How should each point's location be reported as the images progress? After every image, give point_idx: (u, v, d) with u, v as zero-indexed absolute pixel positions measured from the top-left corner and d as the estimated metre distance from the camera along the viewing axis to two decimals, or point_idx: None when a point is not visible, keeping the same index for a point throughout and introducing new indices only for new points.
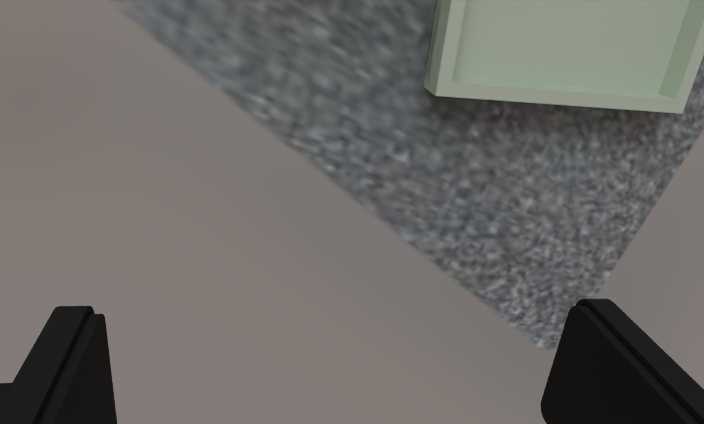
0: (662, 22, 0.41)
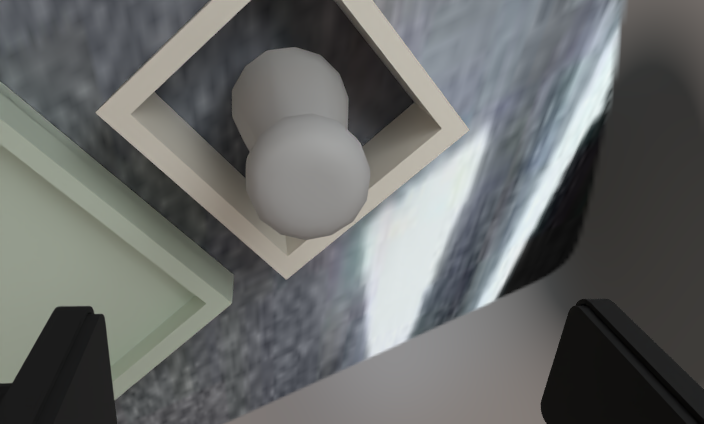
0: None
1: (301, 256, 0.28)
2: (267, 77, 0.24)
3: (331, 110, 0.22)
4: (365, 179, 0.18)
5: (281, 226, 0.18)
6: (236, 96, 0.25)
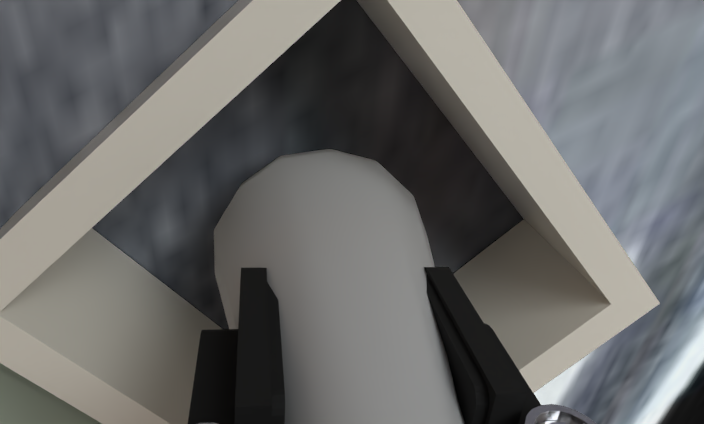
0: None
1: None
2: (282, 234, 0.11)
3: (431, 336, 0.10)
4: None
5: None
6: (220, 253, 0.13)
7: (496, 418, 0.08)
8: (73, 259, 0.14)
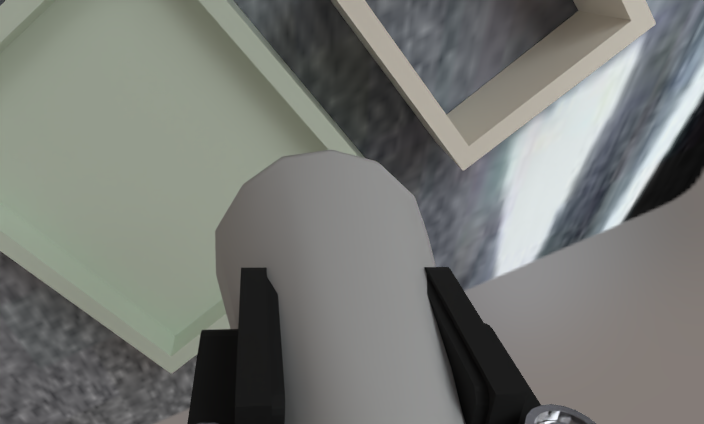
0: None
1: (481, 147, 0.29)
2: (284, 234, 0.11)
3: (433, 338, 0.10)
4: None
5: None
6: (222, 254, 0.13)
7: (496, 418, 0.08)
8: None
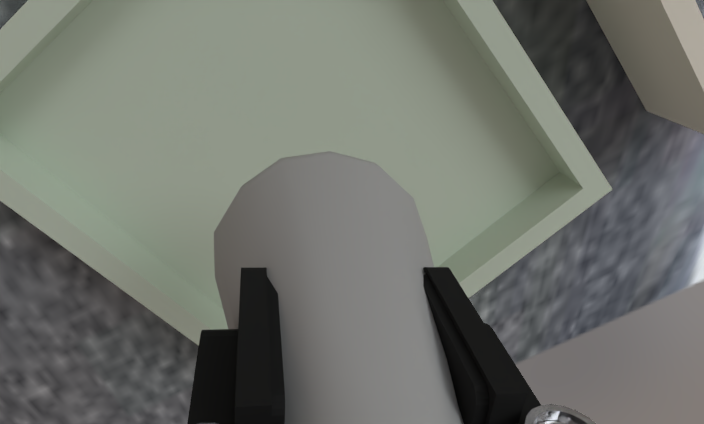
0: None
1: None
2: (282, 237, 0.11)
3: (431, 340, 0.10)
4: None
5: None
6: (220, 255, 0.13)
7: (496, 418, 0.08)
8: None
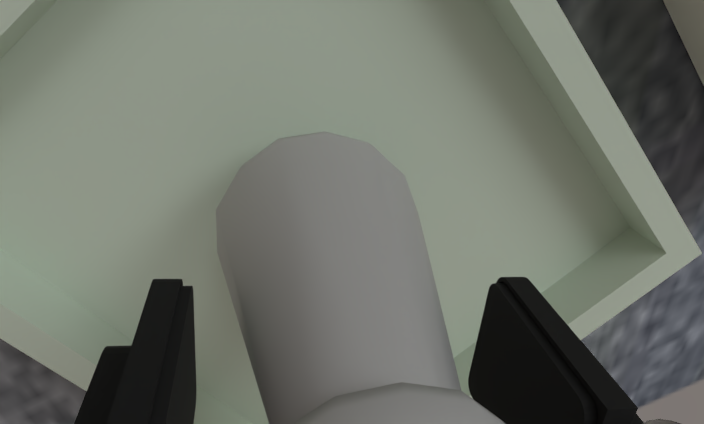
0: None
1: None
2: (280, 207, 0.12)
3: (418, 296, 0.10)
4: None
5: None
6: (222, 229, 0.14)
7: None
8: None
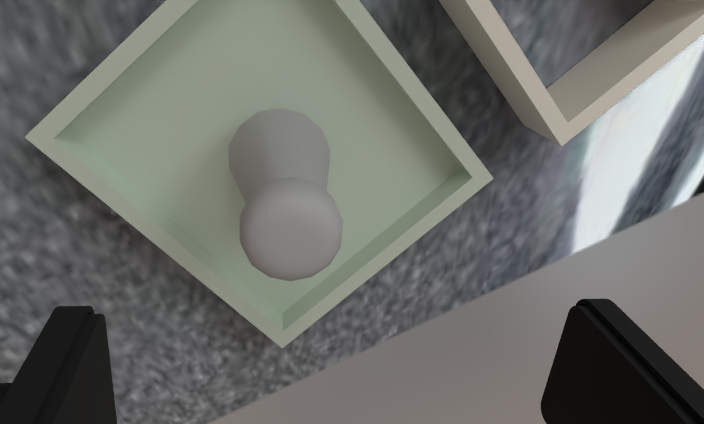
0: None
1: (578, 123, 0.31)
2: (258, 137, 0.28)
3: (312, 167, 0.26)
4: (338, 231, 0.22)
5: (269, 271, 0.22)
6: (232, 152, 0.29)
7: None
8: None
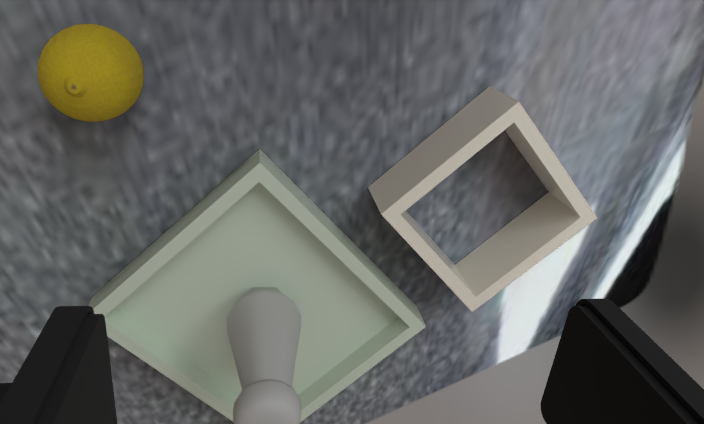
0: (299, 374, 0.48)
1: (484, 297, 0.43)
2: (247, 325, 0.39)
3: (284, 355, 0.37)
4: (297, 419, 0.34)
5: None
6: (229, 327, 0.41)
7: None
8: None
